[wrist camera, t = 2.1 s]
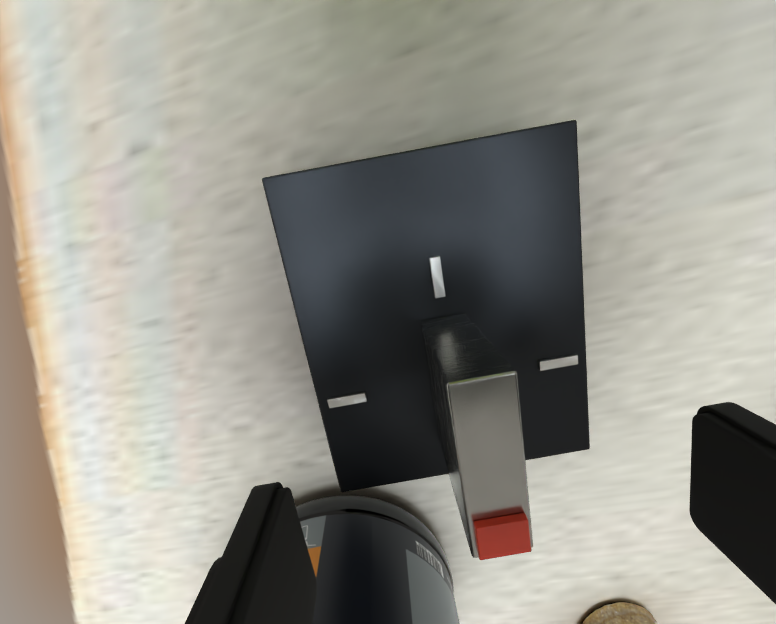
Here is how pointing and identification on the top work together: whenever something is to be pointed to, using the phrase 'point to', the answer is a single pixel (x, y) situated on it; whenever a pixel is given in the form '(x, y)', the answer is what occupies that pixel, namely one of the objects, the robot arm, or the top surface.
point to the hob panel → (436, 289)
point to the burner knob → (480, 435)
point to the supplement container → (375, 564)
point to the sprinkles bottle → (620, 615)
